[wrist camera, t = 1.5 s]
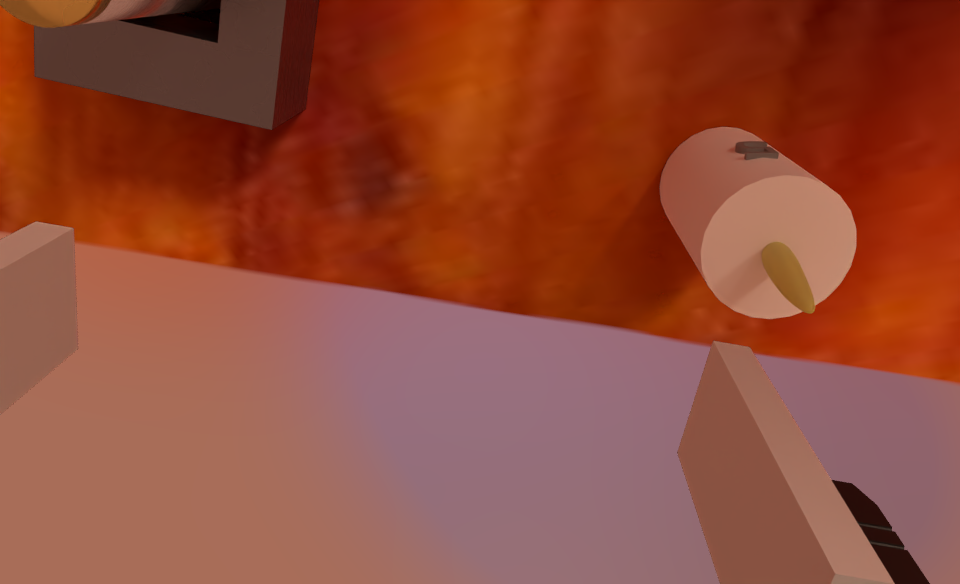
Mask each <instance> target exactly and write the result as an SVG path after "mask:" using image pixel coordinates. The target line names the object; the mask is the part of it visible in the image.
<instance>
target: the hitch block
mask: <svg viewBox="0 0 960 584" xmlns="http://www.w3.org/2000/svg"><path fill="white" fill-rule="evenodd" d="M318 6H319V0H221V9H220V22H219V24H217V23H212V22H208V21H204V20H199V19H195V18H191V17H186V16H182V15H178V14H167V15H158V16H149V17H141V18H132V19H124V20H115V21H107V22H98V23H89V24H81V25H72V26H64V27H55V28H45V27H38V26H34V65H35V77H39V78H43V79H48V80H52V81H57V82H61V83H65V84H70V85H74V86H79V87H83V88H88V89H92V90H97V91H101V92H105V93H110V94H114V95H119V96H123V97H128V98H132V99H137V100H141V101H145V102H150V103H154V104H159V105H163V106H168V107H172V108H177V109H181V110H185V111H190V112H194V113H199V114H203V115H208V116H212V117H217V118H221V119H225V120H230V121H234V122H239V123H243V124H248V125H252V126H257V127H261V128H265V129H270V130H273V129H274V128H276V127H277V126H279V125H281V124H282V123H284V122H285V121H287V120H289V119H290V118H292V117H293V116H295V115H297V114H298V113H300V112H301V111H303V110H304V109H306V101H307V93H308V85H309V77H310V69H311V62H312V54H313V46H314V38H315V30H316V22H317V14H318Z"/></svg>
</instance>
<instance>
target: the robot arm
mask: <svg viewBox="0 0 960 584" xmlns="http://www.w3.org/2000/svg"><path fill="white" fill-rule="evenodd" d="M77 349H78V331H77V304H76V277H75V249H74V228H71V227H65V226H59V225H54V224H48V223H42V222H37V221H36V222H34V223H32V224H30V225H28V226H26V227H24V228H22V229H20V230H18V231H16V232H14V233H12V234H10V235H8V236H6V237H4V238H2V239H0V414H2V413H3V412H4V411H5V410H6V409H8V408H9V407H10V406H11V405H12V404H14V403H15V402H16V401H17V400H18V399H19V398H21V397H22V396H23V395H24V394H25V393H27V392H28V391H29V390H30V389H31V388H32V387H34V386H35V385H36V384H37V383H38V382H39V381H40V380H42V379H43V378H44V377H45V376H47V375H48V374H49V373H50V372H51V371H52V370H53V369H55V368H56V367H57V366H58V365H60V364H61V363H62V362H63V361H64V360H65V359H67V358H68V357H69V356H70V355H71V354H72V353H74V352H75V351H76V350H77ZM677 453H678V456H679V459H680V462H681V465H682V469H683V472H684V475H685V477H686V481H687V484H688V487H689V490H690V493H691V496H692V499H693V502H694V505H695V508H696V511H697V514H698V518H699V521H700V524H701V527H702V530H703V533H704V536H705V539H706V542H707V545H708V548H709V551H710V554H711V557H712V560H713V564H714V567H715V570H716V572H717V576H718V579H719V582H720V584H930V583H929V582H928V580H927V579H926V577H925V576H924V574H923V573H922V572H921V570H920V568H919V567H918V566H917V564H916V562H915V561H914V560H913V558H912V556H911V555H910V553H909V552H908V551H907V550H904V545H903V543H902V542H901V540H900V539H899V537H898V536H897V534H896V533H895V532H893V531H892V527H891V525H890V524H889V522H888V521H887V519H886V518H885V516H884V515H883V513H882V512H881V510H880V509H879V507H878V506H877V505H876V504H875V503H874V502H873V501H872V500H870V499H869V498H868V497H867V496H866V495H865V494H864V493H862V492H861V491H860V490H859V489H858V488H857V487H856V486H854V485H853V484H852V483H846V482H840V481H835V480H831V479H830V477H829V476H828V474H827V473H826V471H825V469H824V467H823V466H822V464H821V463H820V461H819V459H818V458H817V456H816V454H815V453H814V451H813V450H812V448H811V446H810V445H809V443H808V441H807V440H806V438H805V437H804V435H803V433H802V432H801V430H800V428H799V427H798V425H797V424H796V422H795V420H794V418H793V417H792V415H791V414H790V412H789V410H788V409H787V407H786V405H785V404H784V402H783V401H782V399H781V397H780V396H779V394H778V392H777V391H776V389H775V387H774V386H773V384H772V383H771V381H770V379H769V378H768V376H767V375H766V373H765V371H764V369H763V368H762V366H761V365H760V363H759V361H758V360H757V358H756V357H755V355H754V353H753V352H752V350H751V348H750V347H746V346H740V345H735V344H729V343H723V342H718V341H713V343H712V346H711V349H710V352H709V355H708V358H707V361H706V364H705V368H704V371H703V374H702V377H701V380H700V384H699V387H698V390H697V393H696V396H695V399H694V402H693V405H692V409H691V411H690V415H689V418H688V421H687V424H686V427H685V430H684V434H683V436H682V439H681V443H680V446H679V449H678V452H677Z"/></svg>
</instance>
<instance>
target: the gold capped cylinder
mask: <svg viewBox="0 0 960 584" xmlns="http://www.w3.org/2000/svg"><path fill="white" fill-rule="evenodd" d="M0 5H1V6H2V7H3V8H4V9H5V10H6V11H7V12H9V13H10V14H12V15H13V16H14V17H16V18H18V19H20V20H21V21H24V22H26V23H28V24H31V25H34V26H38V27H45V28H55V27H64V26H72V25H81V24H89V23H98V22H107V21H115V20H124V19H132V18H141V17H149V16H158V15H167V14H175V13H184V12H192V11H201V10H210V9H218V8H221V0H0Z"/></svg>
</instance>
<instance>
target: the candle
mask: <svg viewBox="0 0 960 584" xmlns="http://www.w3.org/2000/svg"><path fill="white" fill-rule="evenodd" d="M659 188H660V199H661V204H662V206H663V209H664V211H665V214H666V216H667V218H668V219H669V221H670V223H671V224H672V226H673V228H674V229H675V231H676V233H677V234H678V236H679V238H680V239H681V241H682V243H683V244H684V246H685V248H686V250H687V251H688V253H689V255H690V256H691V258H692V260H693V261H694V263H695V265H696V266H697V268H698V270H699V271H700V273H701V275H702V277H703V278H704V280H705V282H706V283H707V285H708V287H709V288H710V289H711V290H712V292H713V293H714V294H715V296H716V297H717V298H718V299H719V301H721V302H722V303H724V304H725V305H727V306H728V307H729V308H731V309H732V310H734V311H736V312H739V313H741V314H744V315H747V316H750V317H755V318H765V319H774V318H782V317H789V316H792V315H795V314H798V313H801V312H806V313H813V312H814V310H815V305H817V304H818V303H820V302H821V301H823V300H824V299H826V298H827V297H828V296H829V295H830V294H831V293H832V292H833V291H834V290H835V289H836V288H837V287H838V286H839V285H840V284H841V282H842V280H843V279H844V277H845V275H846V274H847V272H848V270H849V269H850V267H851V264H852V261H853V257H854V254H855V250H856V226H855V223H854V220H853V216H852V213H851V211H850V209H849V208H848V206H847V205H846V203H845V202H844V200H843V199H842V198H841V196H840V195H839V194H837V193H836V192H835V191H833V190H832V189H831V188H830V187H828V186H827V185H826V184H824V183H823V182H821V181H820V180H819V179H817V178H816V177H814V176H813V175H811V174H810V173H808V172H807V171H806V170H804V169H803V168H801V167H800V166H798V165H797V164H796V163H794V162H793V161H791V160H790V159H788V158H787V157H786V156H784V155H783V154H781V153H780V152H778V151H777V150H776V149H774V148H773V147H771V146H770V145H768V144H767V143H766V142H764V141H763V140H761V139H760V138H758V137H757V136H755V135H754V134H752V133H750V132H747V131H745V130H742V129H739V128H732V127H718V128H711V129H706V130H704V131H702V132H699V133H697V134H695V135H692V136H691V137H690V138H688V139H687V140H686V141H684V142H683V143H682V144H680V145H679V146H678V147H677V148H676V150H675V151H674V152H673V153H672V155H671V156H670V157H669V158H668V161H667V163H666V165H665V167H664V169H663V171H662V175H661V181H660V187H659Z"/></svg>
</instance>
